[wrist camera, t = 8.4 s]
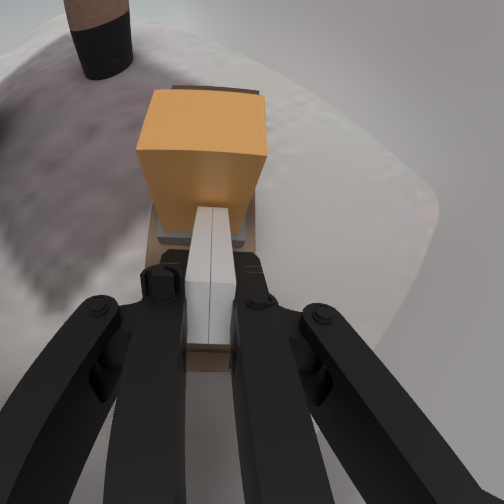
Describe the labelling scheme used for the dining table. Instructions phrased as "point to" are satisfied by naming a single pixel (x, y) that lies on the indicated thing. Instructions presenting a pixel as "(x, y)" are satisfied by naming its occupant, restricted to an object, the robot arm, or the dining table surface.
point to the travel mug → (101, 35)
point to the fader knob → (202, 157)
